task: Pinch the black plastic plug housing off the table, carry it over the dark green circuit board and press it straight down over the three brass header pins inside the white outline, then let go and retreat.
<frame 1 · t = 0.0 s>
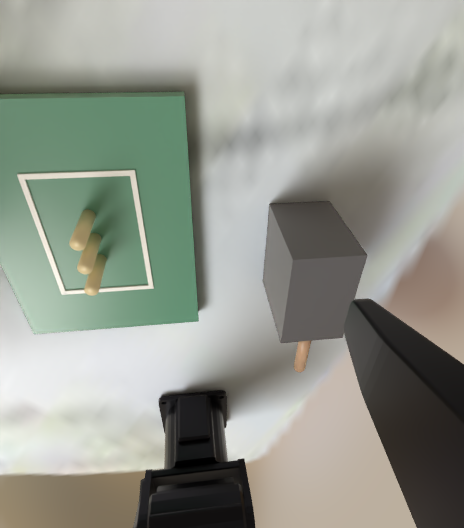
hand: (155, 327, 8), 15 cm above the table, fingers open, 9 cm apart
servo housing: (293, 243, 25), on the table
pcb board: (97, 229, 23), on the table
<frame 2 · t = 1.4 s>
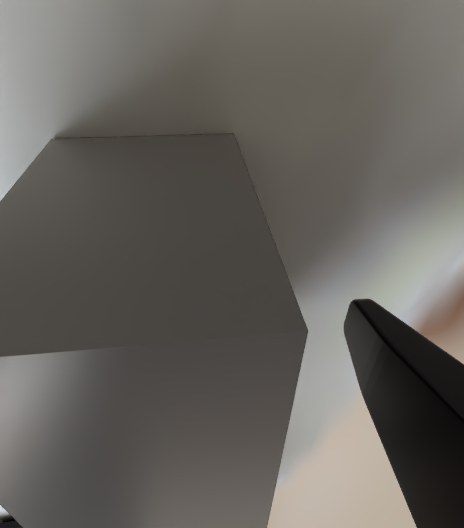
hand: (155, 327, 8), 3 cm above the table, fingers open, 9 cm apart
servo housing: (160, 253, 10), on the table
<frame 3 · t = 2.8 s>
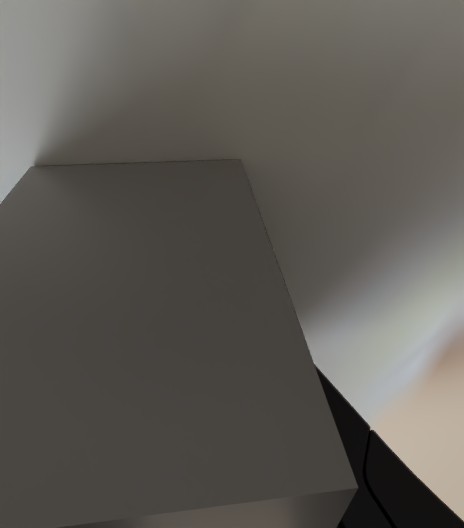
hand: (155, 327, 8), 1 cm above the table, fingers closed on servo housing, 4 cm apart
servo housing: (157, 288, 9), on the table, touching gripper
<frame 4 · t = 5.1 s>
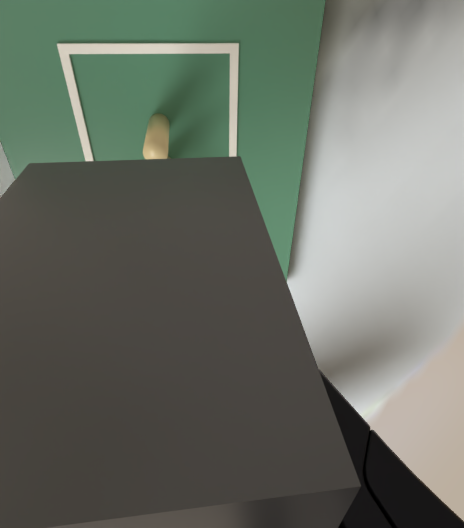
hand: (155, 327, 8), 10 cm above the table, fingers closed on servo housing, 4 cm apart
servo housing: (157, 286, 9), point 9 cm above the table, touching gripper
pcb board: (164, 154, 16), on the table
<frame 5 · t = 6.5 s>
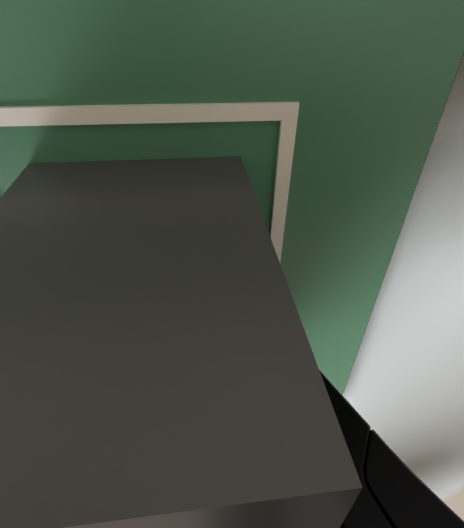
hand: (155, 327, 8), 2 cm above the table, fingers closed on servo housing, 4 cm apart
servo housing: (157, 286, 9), point 1 cm above the table, touching gripper, pcb board
pcb board: (158, 263, 10), on the table
when the fingers open (2 cm above the table, at t = 7.4 s): servo housing stays where it is, resting on pcb board.
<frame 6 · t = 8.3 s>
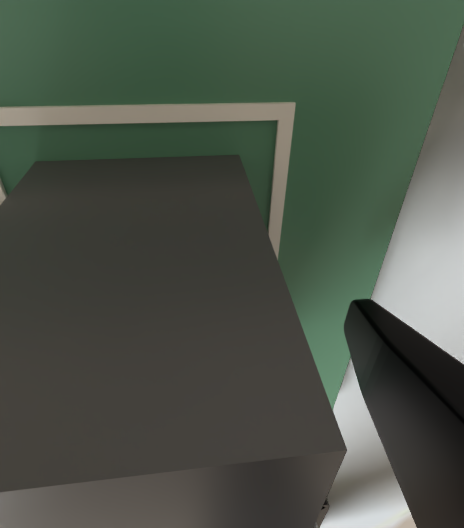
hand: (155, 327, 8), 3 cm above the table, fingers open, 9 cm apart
servo housing: (158, 281, 9), point 1 cm above the table, touching pcb board
pcb board: (159, 259, 10), on the table
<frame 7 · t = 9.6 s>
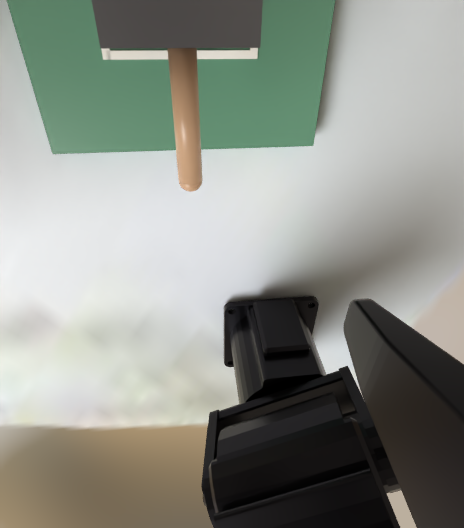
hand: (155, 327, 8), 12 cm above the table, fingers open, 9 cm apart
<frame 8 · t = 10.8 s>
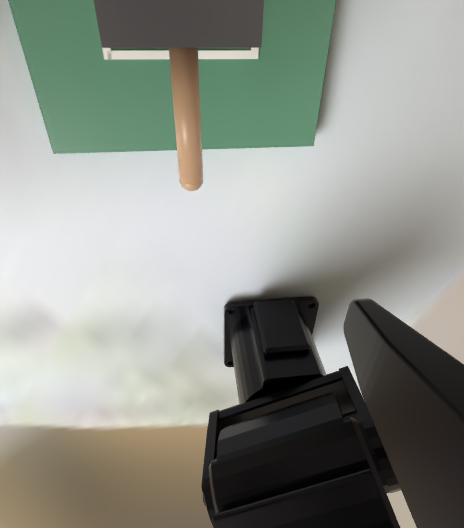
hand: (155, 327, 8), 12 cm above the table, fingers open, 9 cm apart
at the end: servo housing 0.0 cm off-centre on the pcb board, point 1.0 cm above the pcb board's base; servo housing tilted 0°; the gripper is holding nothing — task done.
